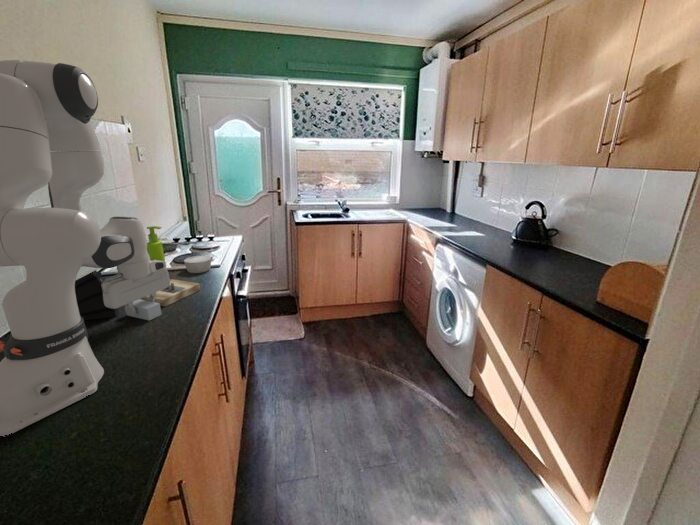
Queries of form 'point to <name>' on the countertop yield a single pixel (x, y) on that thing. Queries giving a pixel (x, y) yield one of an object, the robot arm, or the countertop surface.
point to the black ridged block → (92, 297)
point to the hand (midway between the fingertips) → (143, 310)
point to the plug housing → (145, 309)
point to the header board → (174, 292)
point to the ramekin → (198, 264)
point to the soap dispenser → (155, 245)
